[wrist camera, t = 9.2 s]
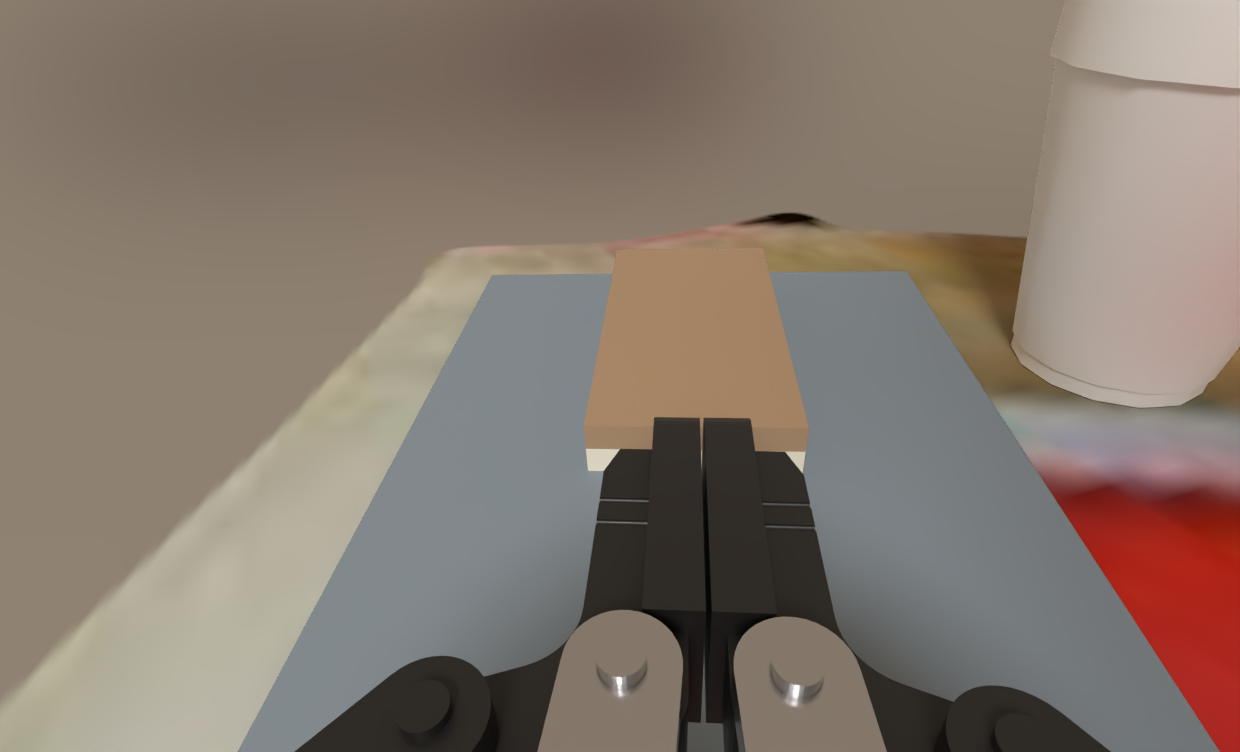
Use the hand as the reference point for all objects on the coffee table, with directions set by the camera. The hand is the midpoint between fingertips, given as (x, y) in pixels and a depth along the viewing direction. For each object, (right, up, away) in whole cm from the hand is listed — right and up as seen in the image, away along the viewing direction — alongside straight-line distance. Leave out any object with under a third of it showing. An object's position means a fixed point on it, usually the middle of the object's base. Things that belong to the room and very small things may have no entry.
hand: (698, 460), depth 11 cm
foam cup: (+17, +2, +15) cm, 23 cm away
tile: (+1, -1, +9) cm, 9 cm away
